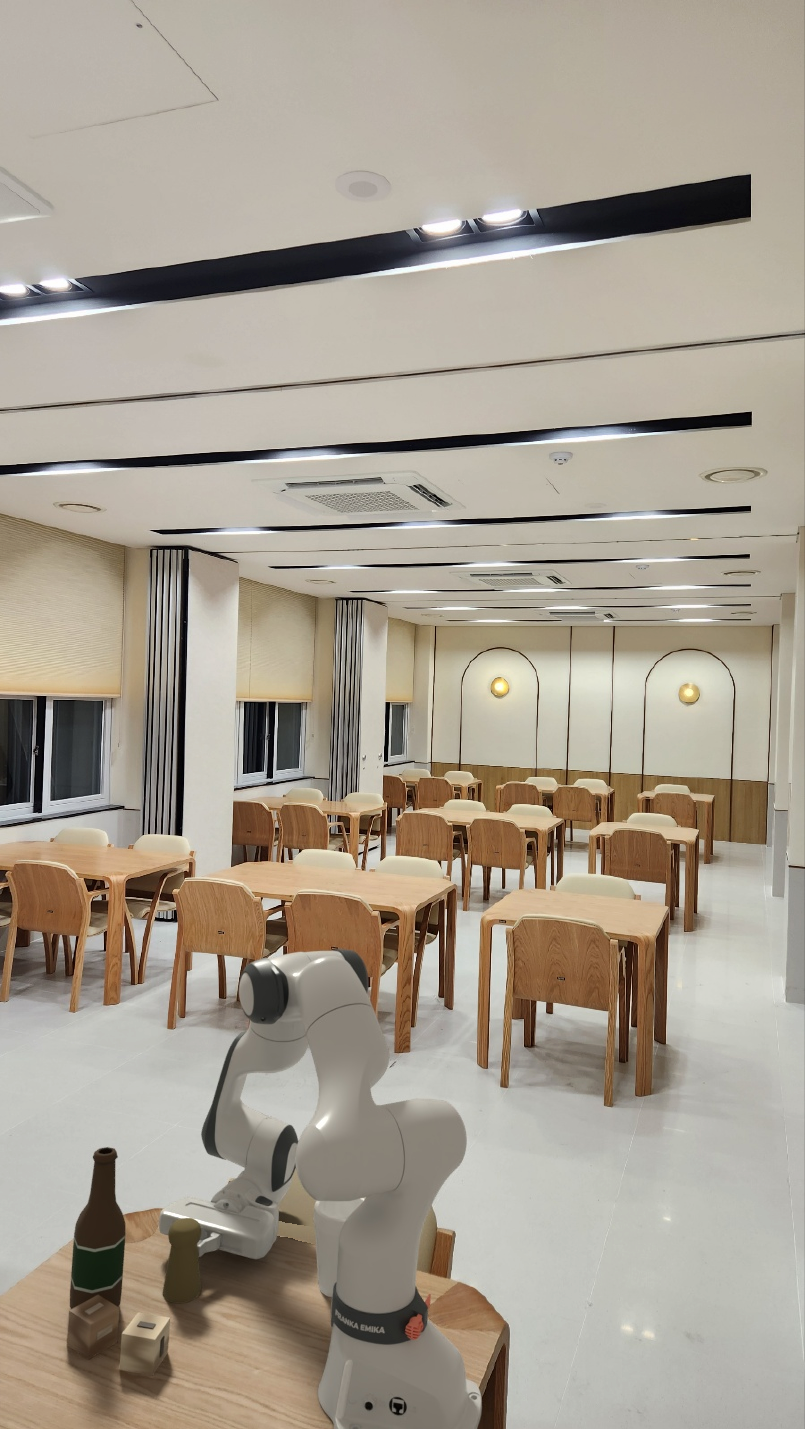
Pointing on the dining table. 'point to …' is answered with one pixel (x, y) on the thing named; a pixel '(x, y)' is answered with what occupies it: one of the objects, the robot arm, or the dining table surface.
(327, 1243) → the foam cup
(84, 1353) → the walnut cube marked
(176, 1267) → the cork
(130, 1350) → the beech cube marked
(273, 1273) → the dining table surface
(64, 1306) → the dining table surface
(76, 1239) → the beer bottle
